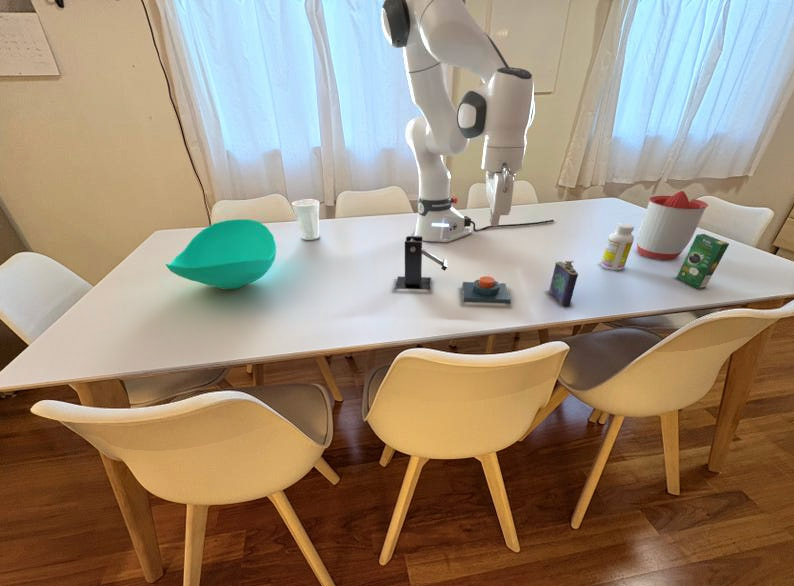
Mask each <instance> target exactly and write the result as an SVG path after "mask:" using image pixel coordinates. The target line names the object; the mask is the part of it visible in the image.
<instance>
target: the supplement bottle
mask: <svg viewBox="0 0 794 586" xmlns="http://www.w3.org/2000/svg"><path fill="white" fill-rule="evenodd" d="M634 229H635V226H634V225H633V224H630V223H625V222H624V223H623V222H621V223H617V224H616V226H615V231H614V232H612V233H610V235H609V237H608V240H607V243H606V246H605V250H604V253H603V256H602V259H601V263H600V264H601V267H603V268H604V269H605V270H611V271H621V270H623V269H624V268H625V266H626V263H627V260H628V257H629V254H630V252H631V250H632V246H633V243H634V240H635V236H634V235H633V234H632V233H633V231H634Z"/></svg>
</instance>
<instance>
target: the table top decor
mask: <svg viewBox="0 0 794 586" xmlns="http://www.w3.org/2000/svg"><path fill="white" fill-rule="evenodd" d="M276 255H277V245H276V239H275V237H274V235H273V233H272V231H270V229H269V228H268V227H267V226H265V225H264V224H263V223H262V222H260V221H258V220H253V219H247V218H246V219H244V218H243V219H241V218H240V219H239V218H238V219H228V220H223V221H220V222H215V223H213V224H211V225H209V226H207V227H205V228H204V229H202V230H201V231H200V232H199V233H197V234H196V235H195V236H194V237H192V239H191V240H190V242H189V243H188V244H187V245H186V247H185V248H184V250H182V251H181V252H180V253H179V254H177V255H176V256H175V257H174V259H173V260H172V261H171V262H170V263H167V262H166V263H165V266H166V268H167V269H169V271H170V272H171V273H173V274H175V275H176V276H178V277H181V278H183V279H187V280H189V281H193V282H197V283H200V284H203V285H207V286H210V287H213V288H218V289H222V290H237V289H239V288H241V287H243V286H245V285H247V284H251V283H254V282H255V281H257V280H259V279H261V278H263V276H265V274H266V273H268V271H269V270H270V269H271V267H272V266H273V263H274V262H275V260H276Z"/></svg>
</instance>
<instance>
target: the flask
mask: <svg viewBox="0 0 794 586" xmlns="http://www.w3.org/2000/svg"><path fill="white" fill-rule="evenodd" d="M572 263H575V262H574V260H565V261H564V262H563V261H556V262H555V263H554V264H555V265H554V269H553V273H552V277H551V281H550V285H549V290H548V295H549V296H551V297H553V299H554V300H556V301H557V303H559V305H561V306H562V307H564V308H569V307H570V306H571V303H572V298H573V296H574V290H575V287H576V283H577V280H578V277H579V273H578V272H577V271H576V269H575V268H574V266H573V265H572Z"/></svg>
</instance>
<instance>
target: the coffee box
mask: <svg viewBox="0 0 794 586" xmlns="http://www.w3.org/2000/svg"><path fill="white" fill-rule="evenodd" d="M729 245H730V243H729V242H726V241H723V240H721V239H718V238H716V237H713V236H711V235H708V234H706V233H699V234H698V233H697V234H696V235H695V237H694V239H693V242H692V244H691V246H690V248H689V250H688V251H687V254H686V256H685V259H684V261H683V263H682V265H681V266H680V269H679V271H678V274H677V275H676V279H677V280H679V281H681V282H683V283H685V284H687V285H689V286H691V287H692V288H696V289H697V290H701V289H706V287H707V286H708V284H709V282H710V280H711V278H712V276H713V274H714V273H715V271H716V269H717V267H718V266H719V264H720V262H721V260H722V259H723V256H724V255H725V253H726V252H727V249H728V247H729Z"/></svg>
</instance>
